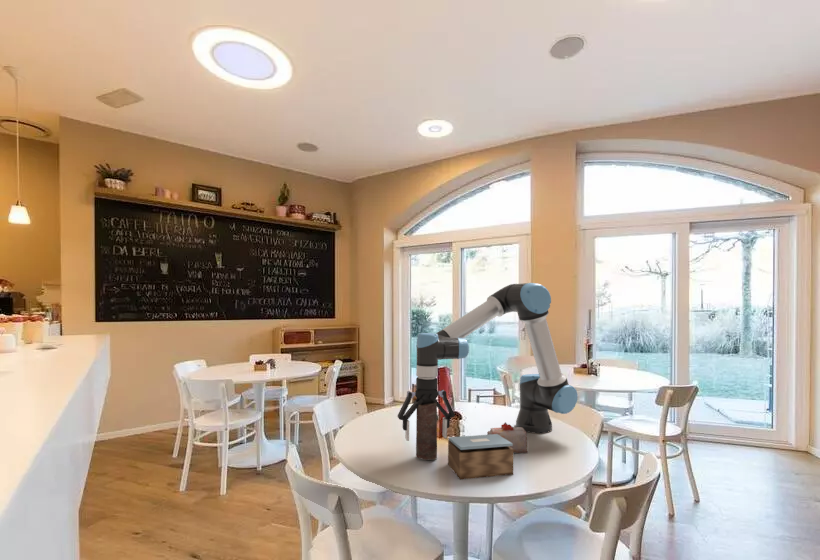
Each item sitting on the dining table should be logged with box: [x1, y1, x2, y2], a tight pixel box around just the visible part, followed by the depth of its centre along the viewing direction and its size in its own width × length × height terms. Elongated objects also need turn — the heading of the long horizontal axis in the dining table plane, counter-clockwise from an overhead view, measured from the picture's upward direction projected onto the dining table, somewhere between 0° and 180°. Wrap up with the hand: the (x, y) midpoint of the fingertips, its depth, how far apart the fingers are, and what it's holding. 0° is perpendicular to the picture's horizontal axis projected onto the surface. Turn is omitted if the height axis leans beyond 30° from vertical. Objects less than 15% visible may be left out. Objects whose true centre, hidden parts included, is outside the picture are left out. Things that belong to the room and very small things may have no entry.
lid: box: [448, 434, 513, 450], centre depth 136 cm, size 18×12×1 cm
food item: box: [486, 422, 529, 454], centre depth 152 cm, size 14×8×10 cm, turn 94°
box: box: [447, 439, 514, 481], centre depth 136 cm, size 18×12×8 cm, turn 103°
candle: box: [415, 402, 438, 461], centre depth 144 cm, size 8×7×20 cm
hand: (426, 438), depth 144 cm, fingers open, 13 cm apart
